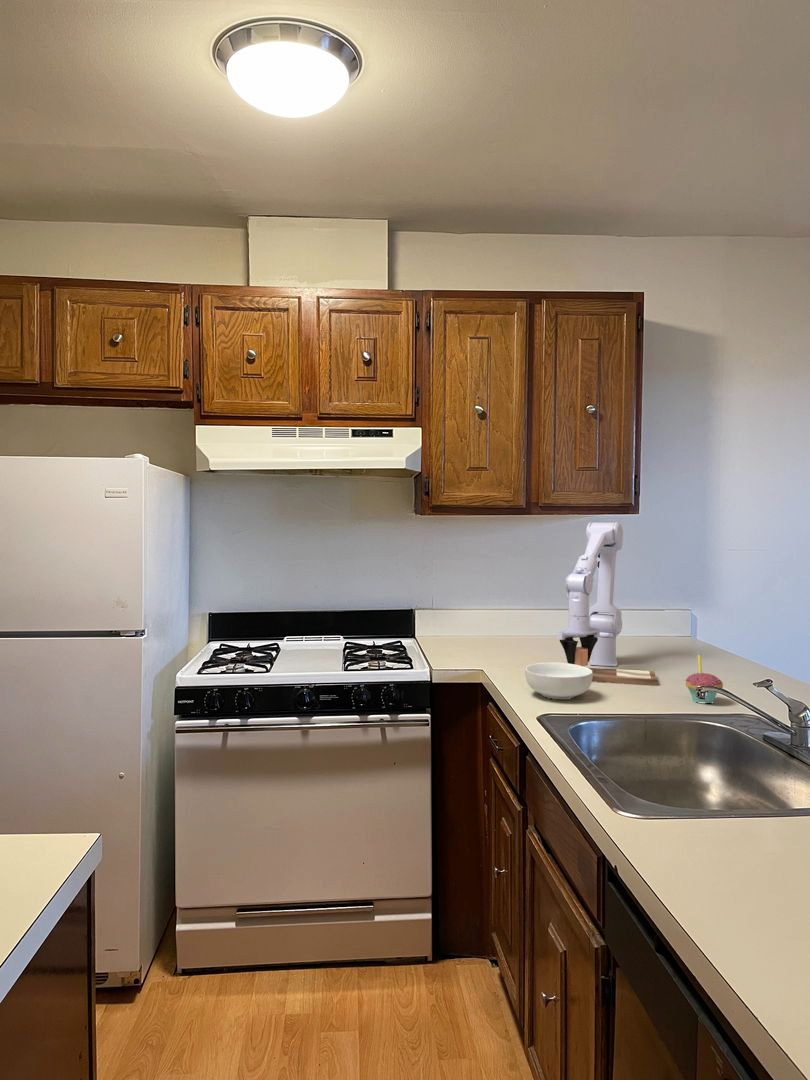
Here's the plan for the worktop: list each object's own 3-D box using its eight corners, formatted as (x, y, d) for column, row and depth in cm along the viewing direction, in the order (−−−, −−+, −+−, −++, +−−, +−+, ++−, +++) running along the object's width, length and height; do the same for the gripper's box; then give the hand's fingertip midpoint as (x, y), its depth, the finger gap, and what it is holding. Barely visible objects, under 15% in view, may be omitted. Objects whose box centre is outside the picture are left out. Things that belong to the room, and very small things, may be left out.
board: (554, 671, 212) (554, 645, 212) (654, 676, 205) (654, 650, 205) (552, 679, 202) (552, 652, 202) (657, 685, 194) (657, 658, 194)
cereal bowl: (543, 707, 173) (543, 678, 173) (514, 690, 189) (514, 664, 189) (605, 701, 178) (605, 673, 178) (571, 686, 194) (571, 660, 194)
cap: (578, 661, 209) (578, 646, 209) (591, 664, 204) (591, 648, 204) (565, 663, 206) (565, 647, 206) (578, 666, 202) (578, 650, 201)
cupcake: (677, 699, 180) (678, 651, 180) (704, 696, 183) (704, 649, 183) (703, 707, 172) (703, 658, 172) (730, 704, 175) (731, 655, 175)
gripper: (587, 611, 212) (587, 657, 212) (549, 615, 205) (549, 662, 205) (605, 614, 206) (604, 661, 206) (566, 618, 198) (566, 667, 199)
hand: (578, 662), depth 205 cm, fingers closed on cap, 5 cm apart
